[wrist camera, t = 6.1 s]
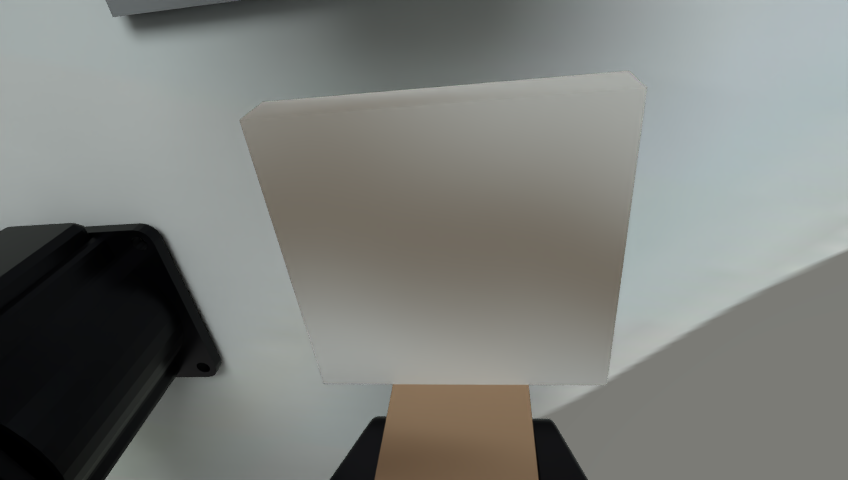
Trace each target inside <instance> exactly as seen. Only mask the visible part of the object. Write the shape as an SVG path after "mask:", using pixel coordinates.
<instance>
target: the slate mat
mask: <svg viewBox="0 0 848 480" xmlns="http://www.w3.org/2000/svg"><path fill="white" fill-rule="evenodd" d="M231 1H239V0H106V2H107V4H108V7H109V9H110V11H111V14H112V16H113V17H117V16H125V15H132V14H140V13H148V12H155V11H163V10H171V9H178V8H186V7H193V6H201V5H209V4H216V3H224V2H231Z"/></svg>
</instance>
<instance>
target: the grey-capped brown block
mask: <svg viewBox="0 0 848 480" xmlns="http://www.w3.org/2000/svg"><path fill="white" fill-rule="evenodd" d="M646 92H647V87H646V86H645V85H644V84H643V83H642V82H641V81H640V80H638V79H637V78H636V77H635V76H634V75H633V74H632V73H631V72H630V71H619V72H607V73H596V74H584V75H572V76H560V77H548V78H537V79H525V80H513V81H501V82H489V83H478V84H466V85H454V86H442V87H430V88H419V89H407V90H395V91H383V92H371V93H360V94H348V95H336V96H324V97H312V98H301V99H289V100H277V101H265V102H262V103H261V104H259V105H258V106H257V107H255V108H254V109H253V110H252V111H250V112H249V113H248V114H246V115H245V116H244V117H243V118H241V119H240V124H241V127H242V130H243V133H244V136H245V139H246V142H247V145H248V148H249V152H250V155H251V158H252V161H253V164H254V167H255V170H256V173H257V177H258V180H259V183H260V186H261V189H262V192H263V195H264V198H265V202H266V205H267V208H268V211H269V214H270V217H271V220H272V223H273V226H274V230H275V233H276V236H277V239H278V242H279V245H280V248H281V251H282V255H283V258H284V261H285V264H286V267H287V270H288V273H289V276H290V279H291V283H292V286H293V289H294V292H295V295H296V298H297V301H298V304H299V308H300V311H301V314H302V317H303V320H304V323H305V326H306V329H307V332H308V336H309V339H310V342H311V345H312V348H313V351H314V354H315V357H316V361H317V364H318V367H319V370H320V373H321V376H322V379H323V382H324V384H393V387H392V392H391V397H390V402H389V408H388V413H387V418H386V423H385V428H384V433H383V439H382V444H381V449H380V454H379V459H378V464H377V469H376V475H375V480H539V479H538V470H537V461H536V451H535V442H534V432H533V423H532V413H531V404H530V394H529V385H607V379H608V371H609V364H610V357H611V349H612V342H613V335H614V327H615V320H616V313H617V305H618V298H619V290H620V283H621V276H622V268H623V261H624V254H625V246H626V239H627V232H628V224H629V217H630V210H631V202H632V195H633V187H634V180H635V173H636V165H637V158H638V151H639V143H640V136H641V129H642V121H643V114H644V107H645V99H646Z"/></svg>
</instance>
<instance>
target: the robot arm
mask: <svg viewBox="0 0 848 480" xmlns="http://www.w3.org/2000/svg"><path fill="white" fill-rule="evenodd" d="M140 238H141V239H143V240H144V241H145V242H146V243H145V242H143V241H142V240H141V239H140ZM220 365H221V359H220V357H219V355H218V353H217V351H216V349H215V347H214V345H213V343H212V341H211V339H210V336H209V334H208V332H207V330H206V328H205V326H204V324H203V322H202V320H201V318H200V316H199V314H198V312H197V310H196V308H195V305H194V303H193V301H192V299H191V297H190V295H189V293H188V291H187V289H186V287H185V285H184V283H183V281H182V279H181V277H180V275H179V272H178V270H177V268H176V266H175V264H174V262H173V260H172V258H171V256H170V254H169V252H168V250H167V248H166V246H165V244H164V241H163V239H162V237H161V236H160V234H159V233H158V231H157V230H155V229H154V228H153V227H151V226H149V225H147V224H123V225H106V226H89V227H84V226H83V225H79V224H75V223H65V224H49V225H32V226H16V227H7V228H5V229H3V230H2V231H0V480H105V479H106V477H107V476H108V474H109V473H110V471H111V470H112V468H113V467H114V465H115V464H116V463H117V461H118V460H119V458H120V457H121V455H122V454H123V452H124V451H125V449H126V448H127V447H128V445H129V444H130V442H131V441H132V439H133V438H134V436H135V435H136V433H137V432H138V431H139V429H140V428H141V426H142V425H143V423H144V422H145V420H146V419H147V417H148V416H149V415H150V413H151V412H152V410H153V409H154V407H155V406H156V404H157V403H158V402H159V400H160V399H161V397H162V396H163V394H164V393H165V391H166V390H167V388H168V387H169V386H170V384H171V383H172V381H173V380H174V378H175V377H210V376H213V375H215V374H216V372H217V370H218V369H219V367H220ZM386 418H387V417H385V416H377V417H375V418H373V419H372V420H371V422H370V423H369V424H368V426H367V427H366V429H365V430H364V431H363V433H362V434H361V436H360V437H359V439H358V440H357V441H356V443H355V444H354V446H353V447H352V449H351V450H350V451H349V453H348V454H347V456H346V457H345V459H344V460H343V461H342V463H341V464H340V466H339V467H338V469H337V470H336V471H335V473H334V474H333V476H332V477H331V479H330V480H375V475H376V469H377V464H378V459H379V454H380V449H381V444H382V439H383V433H384V428H385V423H386ZM532 423H533V432H534V442H535V451H536V461H537V470H538V479H539V480H588V479H587V477H586V476H585V474H584V472H583V471H582V469H581V467H580V466H579V464H578V462H577V461H576V459H575V457H574V456H573V454H572V452H571V450H570V449H569V447H568V445H567V444H566V442H565V440H564V438H563V437H562V435H561V434H560V432H559V430H558V428H557V427H556V425H555V423H554V422H553V421H552V420H550V419H532Z"/></svg>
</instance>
